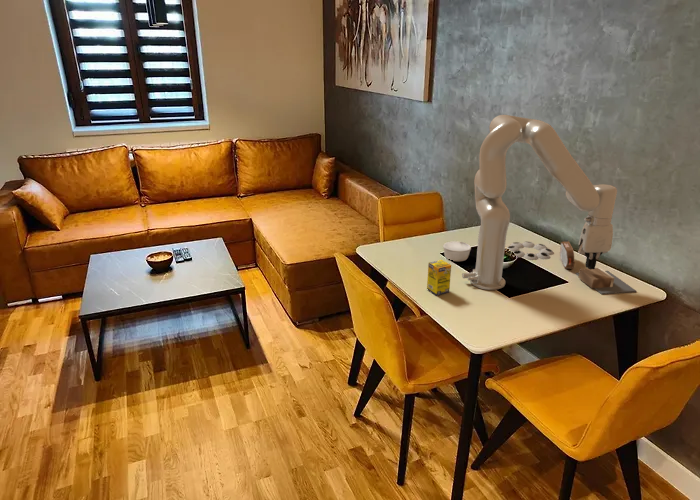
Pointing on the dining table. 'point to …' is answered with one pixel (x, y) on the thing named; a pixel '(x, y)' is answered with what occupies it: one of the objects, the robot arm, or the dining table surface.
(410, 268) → the dining table surface
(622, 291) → the mat
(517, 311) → the dining table surface
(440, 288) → the supplement box
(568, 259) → the tin
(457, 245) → the ramekin
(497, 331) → the dining table surface
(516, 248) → the paint palette
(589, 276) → the block
